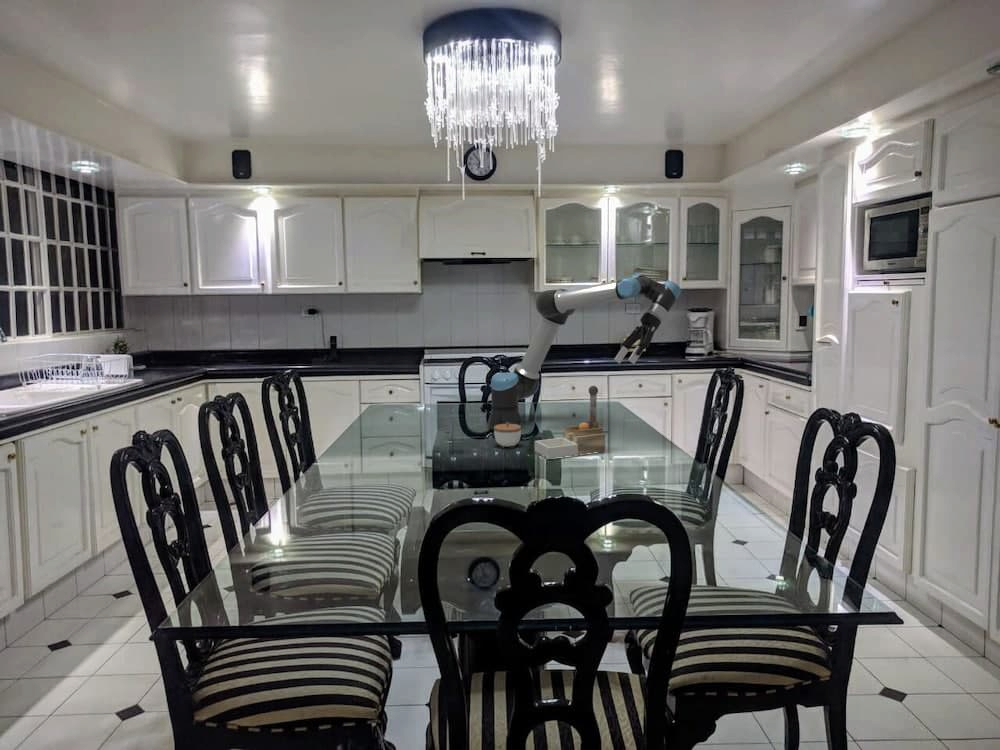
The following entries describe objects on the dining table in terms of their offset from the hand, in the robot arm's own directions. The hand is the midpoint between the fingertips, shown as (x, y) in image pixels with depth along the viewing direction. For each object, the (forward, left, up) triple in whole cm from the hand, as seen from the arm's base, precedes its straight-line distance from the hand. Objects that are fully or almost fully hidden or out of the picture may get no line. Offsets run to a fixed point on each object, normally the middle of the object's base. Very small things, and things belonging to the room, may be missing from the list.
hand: (623, 361), depth 281 cm
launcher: (+1, -18, -33) cm, 38 cm away
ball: (+1, -18, -24) cm, 30 cm away
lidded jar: (-19, -41, -33) cm, 56 cm away
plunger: (+1, -14, -26) cm, 29 cm away
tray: (+1, -30, -33) cm, 45 cm away
